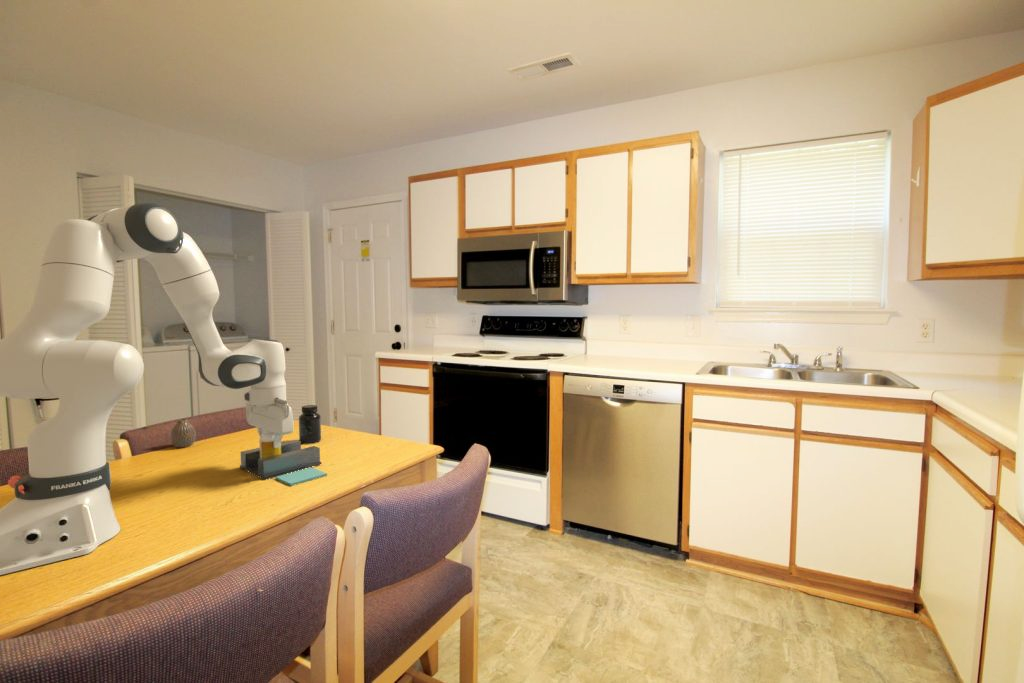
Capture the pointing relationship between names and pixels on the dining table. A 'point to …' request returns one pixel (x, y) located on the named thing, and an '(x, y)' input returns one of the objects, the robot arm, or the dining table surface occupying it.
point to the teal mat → (300, 476)
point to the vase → (183, 434)
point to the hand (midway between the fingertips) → (270, 445)
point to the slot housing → (280, 460)
